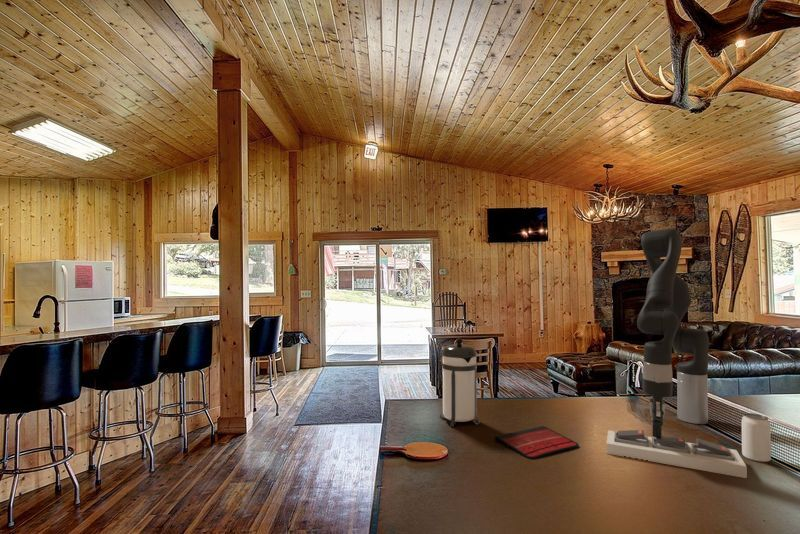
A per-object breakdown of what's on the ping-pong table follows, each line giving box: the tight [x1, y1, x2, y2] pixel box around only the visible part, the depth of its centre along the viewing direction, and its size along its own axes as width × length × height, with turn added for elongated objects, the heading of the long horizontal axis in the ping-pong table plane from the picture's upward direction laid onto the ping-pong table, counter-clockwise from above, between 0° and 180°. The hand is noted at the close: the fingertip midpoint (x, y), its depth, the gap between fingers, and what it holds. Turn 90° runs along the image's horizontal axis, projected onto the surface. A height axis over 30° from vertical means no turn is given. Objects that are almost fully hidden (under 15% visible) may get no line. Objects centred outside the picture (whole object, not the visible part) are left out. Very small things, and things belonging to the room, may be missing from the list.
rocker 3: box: [695, 437, 729, 456], centre depth 121 cm, size 4×7×1 cm, turn 62°
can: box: [741, 412, 772, 463], centre depth 125 cm, size 6×6×12 cm
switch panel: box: [606, 429, 748, 479], centre depth 125 cm, size 12×33×4 cm, turn 62°
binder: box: [494, 425, 579, 460], centre depth 135 cm, size 16×2×21 cm
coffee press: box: [439, 337, 481, 428], centre depth 157 cm, size 17×16×30 cm
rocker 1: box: [617, 429, 646, 439], centre depth 130 cm, size 4×7×1 cm, turn 62°
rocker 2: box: [656, 434, 686, 447], centre depth 125 cm, size 4×7×1 cm, turn 62°
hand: (656, 436), depth 127 cm, fingers closed
